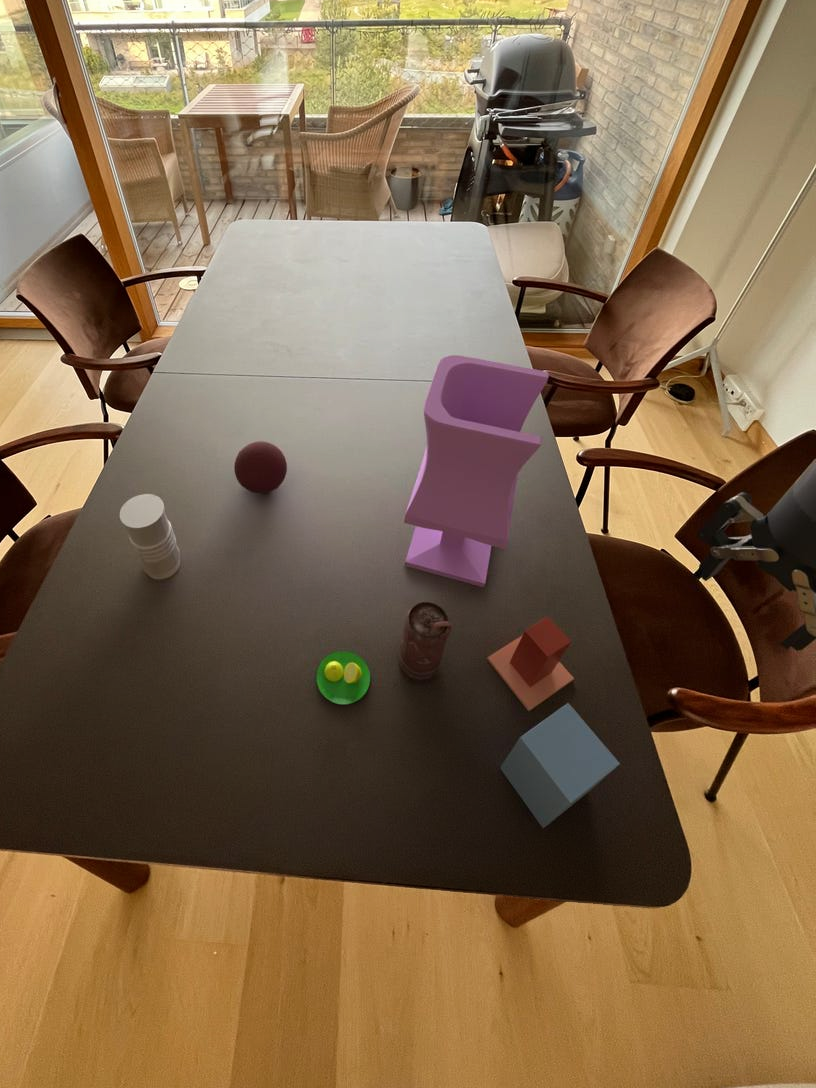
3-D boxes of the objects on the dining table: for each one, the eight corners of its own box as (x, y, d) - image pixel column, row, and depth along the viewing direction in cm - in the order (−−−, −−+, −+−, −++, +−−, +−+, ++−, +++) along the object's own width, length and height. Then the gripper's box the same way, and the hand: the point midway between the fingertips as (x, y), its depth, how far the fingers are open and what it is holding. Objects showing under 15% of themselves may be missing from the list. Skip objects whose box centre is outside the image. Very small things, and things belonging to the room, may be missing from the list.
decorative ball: (280, 508, 108) (276, 472, 101) (230, 499, 110) (222, 463, 102) (294, 470, 115) (291, 434, 108) (247, 462, 116) (241, 427, 109)
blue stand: (588, 792, 74) (620, 763, 66) (543, 828, 72) (570, 803, 63) (543, 736, 79) (568, 702, 71) (499, 768, 76) (520, 737, 68)
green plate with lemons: (365, 649, 88) (366, 641, 86) (374, 702, 83) (375, 694, 81) (314, 656, 88) (313, 647, 86) (319, 709, 82) (318, 701, 80)
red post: (551, 672, 85) (571, 641, 78) (529, 687, 83) (547, 657, 76) (530, 648, 88) (548, 616, 81) (509, 662, 86) (524, 630, 79)
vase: (488, 593, 95) (542, 445, 70) (397, 568, 99) (418, 418, 74) (500, 522, 105) (550, 371, 81) (417, 502, 109) (441, 351, 84)
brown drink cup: (442, 685, 84) (456, 641, 74) (399, 684, 84) (407, 640, 74) (437, 646, 89) (450, 599, 79) (396, 645, 89) (404, 599, 79)
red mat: (573, 680, 85) (574, 678, 84) (528, 711, 82) (529, 710, 81) (530, 631, 90) (531, 629, 90) (486, 659, 87) (487, 657, 87)
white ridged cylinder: (133, 569, 99) (109, 515, 88) (163, 542, 103) (143, 487, 92) (161, 589, 96) (139, 535, 85) (191, 560, 100) (173, 505, 89)
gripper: (737, 465, 48) (660, 571, 60) (928, 594, 40) (795, 689, 51) (788, 434, 51) (705, 541, 62) (978, 549, 42) (841, 648, 54)
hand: (746, 607), depth 57 cm, fingers open, 8 cm apart
